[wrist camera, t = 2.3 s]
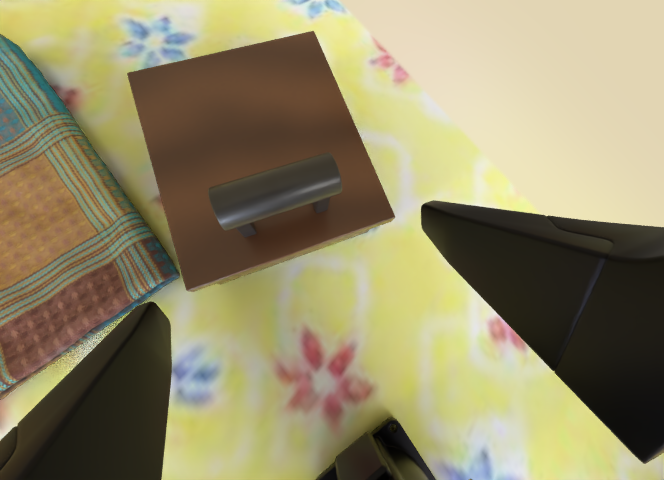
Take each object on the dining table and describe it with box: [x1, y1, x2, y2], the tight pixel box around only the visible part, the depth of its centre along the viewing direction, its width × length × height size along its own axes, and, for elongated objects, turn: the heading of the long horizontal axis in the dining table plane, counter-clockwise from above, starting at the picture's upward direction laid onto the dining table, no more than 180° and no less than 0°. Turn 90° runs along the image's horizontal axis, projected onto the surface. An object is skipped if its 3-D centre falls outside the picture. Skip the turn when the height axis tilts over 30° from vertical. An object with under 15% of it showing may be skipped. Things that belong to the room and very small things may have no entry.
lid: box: [127, 31, 395, 292], centre depth 14 cm, size 13×12×5 cm
